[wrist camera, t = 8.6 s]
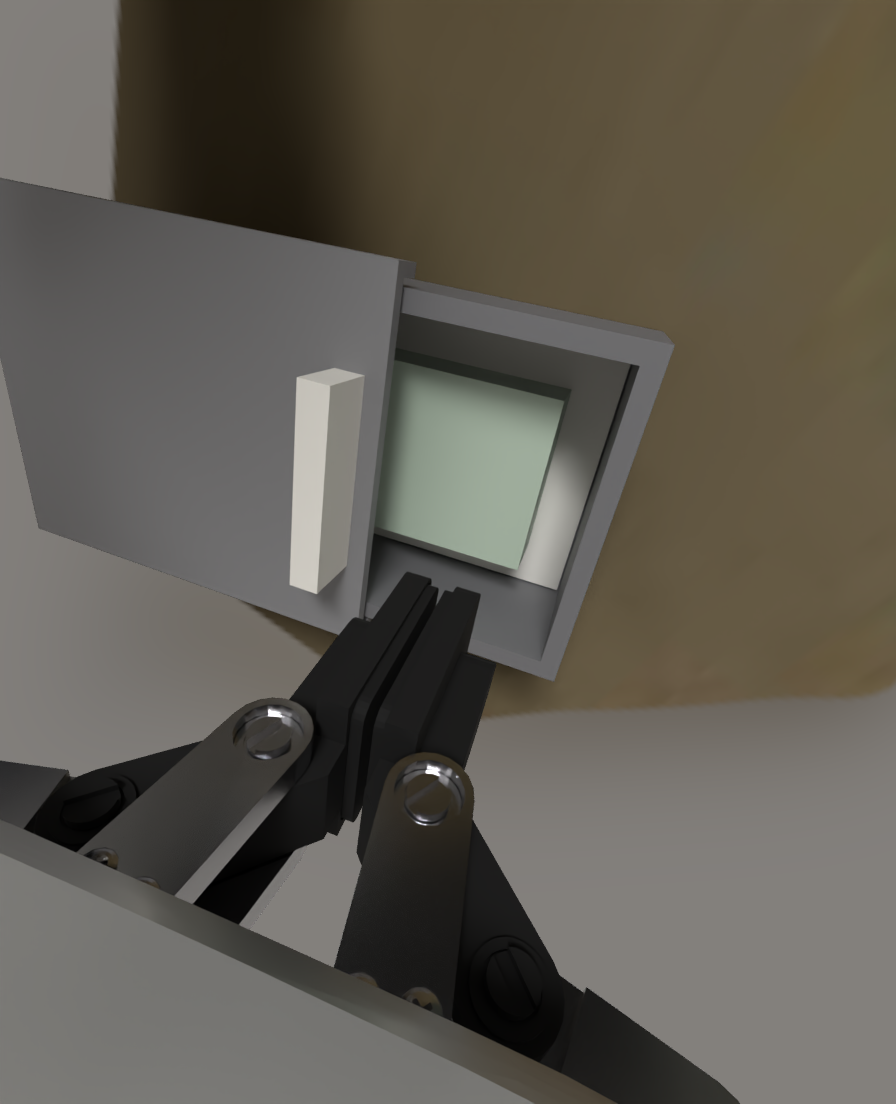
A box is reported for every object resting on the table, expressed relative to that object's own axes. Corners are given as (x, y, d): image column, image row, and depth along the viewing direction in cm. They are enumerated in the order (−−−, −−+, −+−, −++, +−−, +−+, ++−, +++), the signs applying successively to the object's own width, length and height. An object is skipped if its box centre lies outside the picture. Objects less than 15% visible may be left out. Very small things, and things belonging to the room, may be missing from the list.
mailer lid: (0, 177, 22) (-122, 155, 18) (416, 262, 18) (364, 254, 15) (66, 517, 29) (-12, 547, 26) (370, 622, 26) (329, 674, 22)
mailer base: (288, 253, 26) (183, 240, 20) (663, 331, 22) (674, 345, 16) (282, 511, 32) (202, 560, 26) (570, 601, 29) (553, 681, 23)
